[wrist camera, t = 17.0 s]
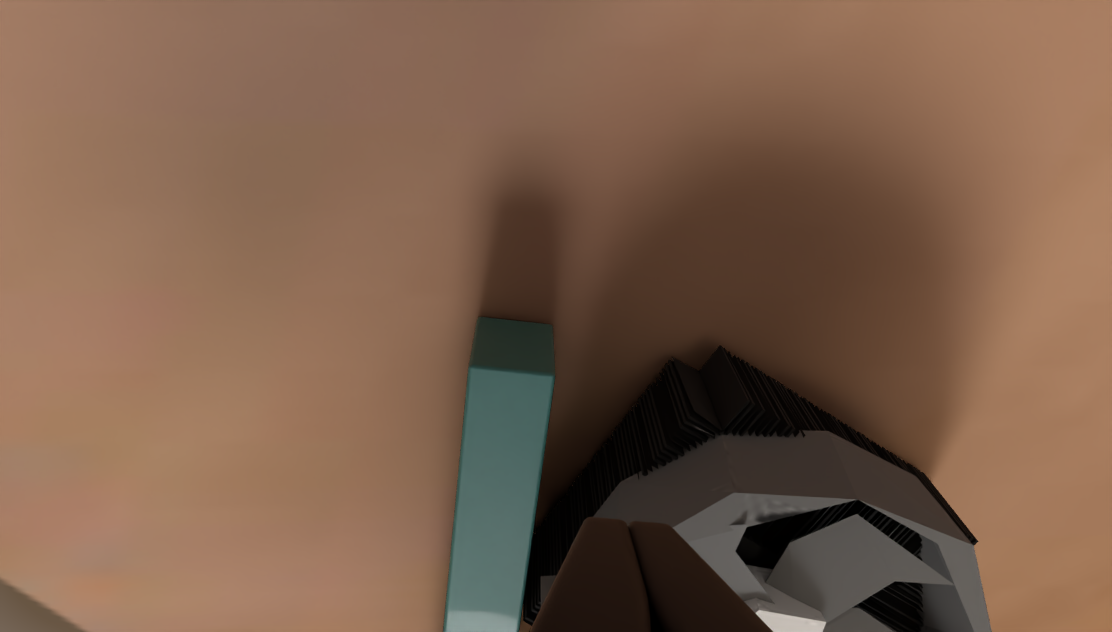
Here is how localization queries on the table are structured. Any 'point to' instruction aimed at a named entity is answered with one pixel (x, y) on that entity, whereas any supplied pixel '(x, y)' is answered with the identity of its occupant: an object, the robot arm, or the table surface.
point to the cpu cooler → (776, 508)
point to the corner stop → (499, 473)
